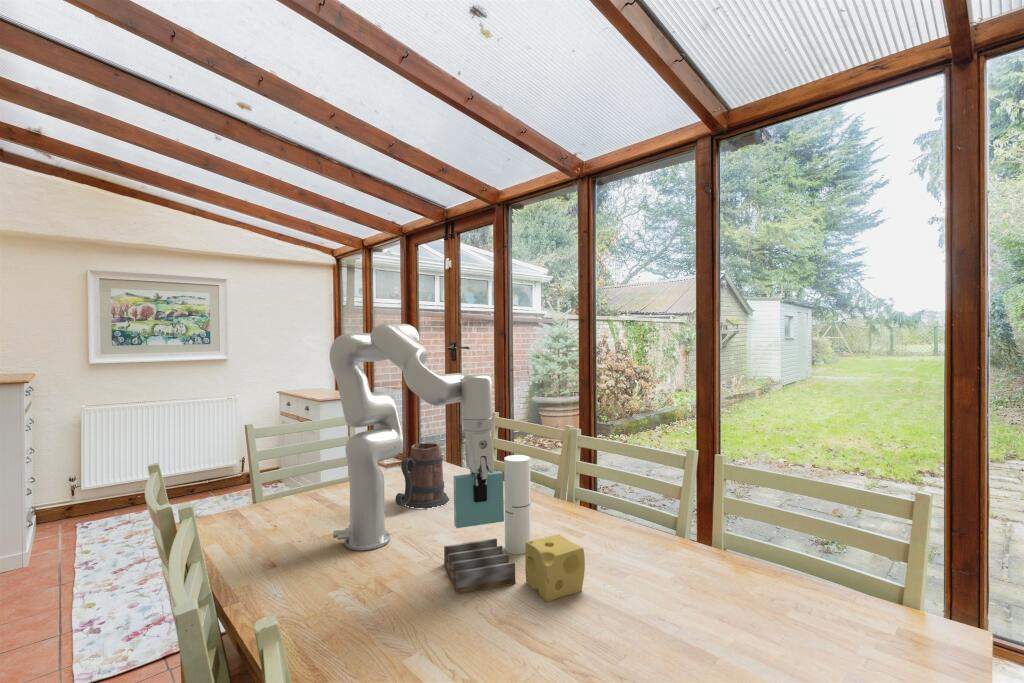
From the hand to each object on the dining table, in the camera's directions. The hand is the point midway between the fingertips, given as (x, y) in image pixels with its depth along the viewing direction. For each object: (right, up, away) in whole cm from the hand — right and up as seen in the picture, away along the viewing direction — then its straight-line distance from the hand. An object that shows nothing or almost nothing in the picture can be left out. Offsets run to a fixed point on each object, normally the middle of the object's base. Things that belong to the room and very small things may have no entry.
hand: (478, 498), depth 119 cm
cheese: (+18, -19, -6) cm, 27 cm away
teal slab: (0, -6, 0) cm, 6 cm away
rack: (0, -18, 0) cm, 18 cm away
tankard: (-24, -19, +51) cm, 60 cm away
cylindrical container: (+10, -19, +14) cm, 25 cm away
